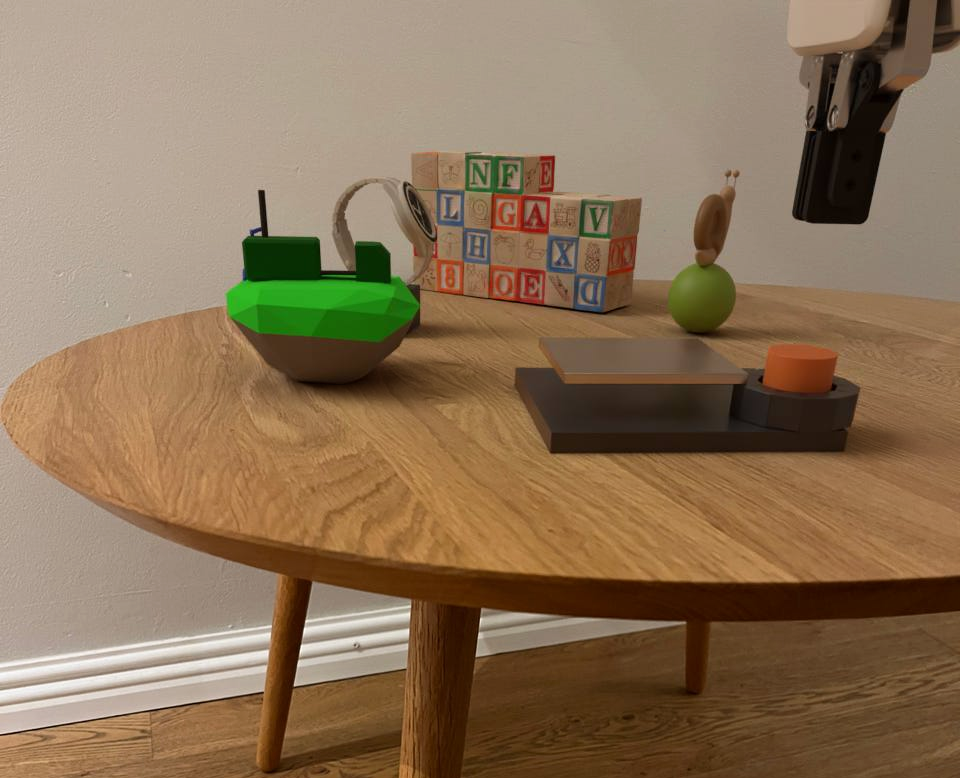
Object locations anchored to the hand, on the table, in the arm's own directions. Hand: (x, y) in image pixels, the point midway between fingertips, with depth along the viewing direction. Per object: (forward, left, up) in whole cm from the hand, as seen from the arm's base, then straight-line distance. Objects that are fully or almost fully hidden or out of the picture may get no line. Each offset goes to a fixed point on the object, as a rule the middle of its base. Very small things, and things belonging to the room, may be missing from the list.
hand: (828, 220), depth 47 cm
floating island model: (+26, -13, -11) cm, 31 cm away
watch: (+22, -29, -11) cm, 38 cm away
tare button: (0, 0, -8) cm, 8 cm away
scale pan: (+8, -4, -8) cm, 12 cm away
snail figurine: (-4, -29, -11) cm, 31 cm away
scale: (+6, -4, -11) cm, 13 cm away
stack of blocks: (+9, -45, -11) cm, 47 cm away
